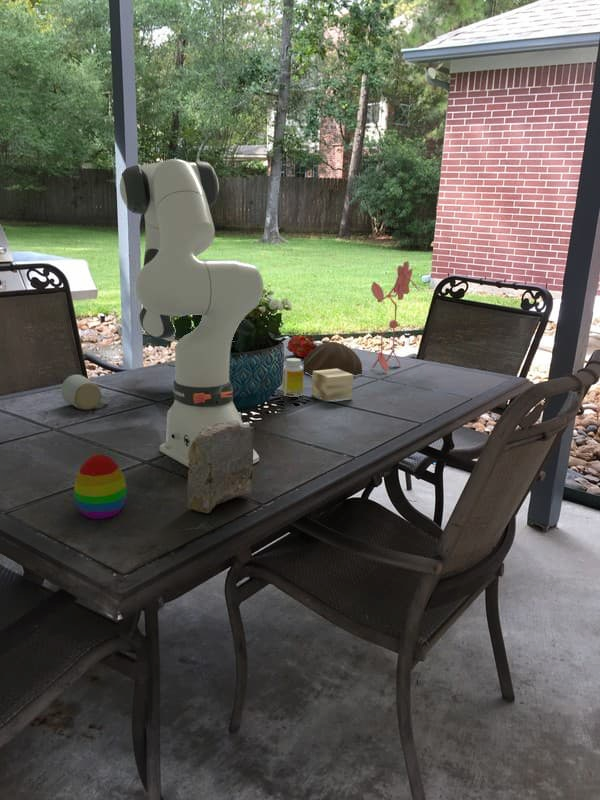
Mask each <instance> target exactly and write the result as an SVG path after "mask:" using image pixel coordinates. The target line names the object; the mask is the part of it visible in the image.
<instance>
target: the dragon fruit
mask: <svg viewBox="0 0 600 800" xmlns="http://www.w3.org/2000/svg"><path fill="white" fill-rule="evenodd" d="M317 346H318V344H316V343H314V340H313V339H312V338H309V337H307V335H305V334H302V335H300V334H296V335H293V336H292V337H291V338H290V339H289V340H288V342H287V346H286V349H287V351H289V353H290V352H291V353H292V354H293V356H294V357H293V358H296V357H300V358H303V357H306V356H307V355H308V354H309V353H310V352H311V351H312V350H314V349H315V348H316V347H317ZM296 355H297V356H296Z"/></svg>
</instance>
